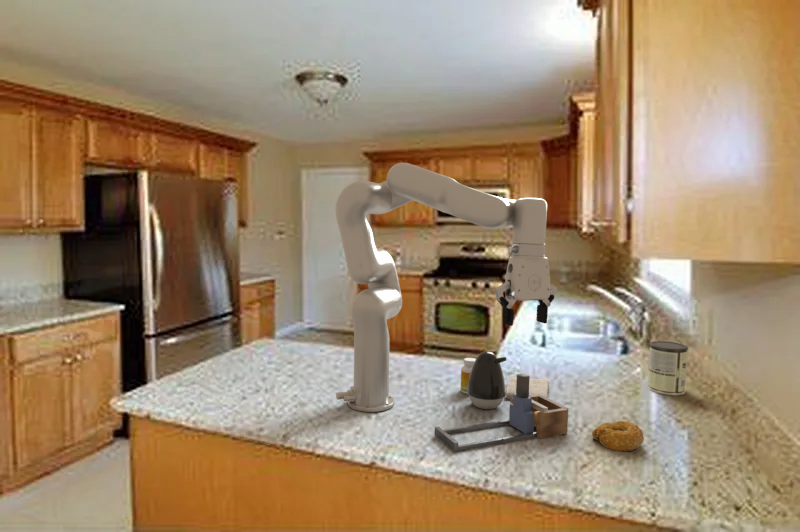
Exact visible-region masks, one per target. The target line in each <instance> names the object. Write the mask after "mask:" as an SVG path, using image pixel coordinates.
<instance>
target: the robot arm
mask: <svg viewBox="0 0 800 532" xmlns="http://www.w3.org/2000/svg"><path fill="white" fill-rule="evenodd" d="M413 201H414V202H415V203H419V204H422V205H424V206H427V207H430V208H432V209H435V210H437V211H440V212H442V213H445V214H448V215H450V216H453V217H455V218H458V219H461V220H463V221H466V222H468V223H471V224H474V225H475V226H479V227H482V228H485V229H490V230H494V229H495V230H501V229H502V230H503V229H509V228H510V229H511V228H512V243H511V246H508V249H507V251H508V252H509V253H511V256H510V257H509V259H508V262H507V267H506V273H505V279H504V280H505V281H504V283H502V284H499V286H497V287H496V288H494V289H493V292H494V294H495V297H496V300H497V302H498V303H499V304H500V306H501V307H502V323H503V324H504V325H507V326H511V327H513V326H514V312H515V309H514V308H513V307H514V305H515V303H516V302H517V301H522V302H524V301H529V302H530V301H537V302H538V304H537V306H536V319H535V320H536V321H537V322H539V323H542V324H547V323H548V316H549V314H548V313H549V307H550V306H551V303H553V301H554V299H555V296H556V294H557V292H558V287H557V286H555V285H554V284H553V283H551V273H550V263H549V260H548V257H546V237H547V233H546V232H547V215H548V213H547V212H548V203H547V201H546V200H545V199H543V198H539V197H538V198H537V197H523V198H518V199H510V198H503V197H501V196H496V195H493V194H490V193H486V192H484V191H481V190H478V189H475V188H472V187H469V186H467V185H464V184H462V183H460V182H458V181H457V180H455V179H454V178H452V177H451V176H447V175H443V174H441V173H439V172H434V171H432V170H429V169H426V168H423V167H421V166H419V165H414V164H412V163H409V162H398V163H395V164H394V165H393V166H392V167H391V168H389V170H388V171H387V175H386V180H384V181H382V182H380V183H378V182H373V181H368V180H358V181H353V182H351V183H349V184H348V185H346V186H345V187H344V188H343V189H342V191H341V192H340V194H339V195H338V197H337V200H336V204H335V218H336V221H337V225H338V229H339V233H340V238H341V243H342V248H343V253H344V257H345V263H346V267H347V270H348V271H347V272H348V275H349V277H350V279H351V280H352V281H353V282H355V284H358V285H367V287H368V288H366V289H364V290H362V291H360V292H359V293H358V294H356V296H355V297H354V298H353V301H352V304H351V311H350V313H351V317H352V318H351V319H352V324H353V349H354V351H353V355H354V356H353V385H351V386H350V387H349V388H350V389H347V391H337V392H335V398H336V400H339V401H340V400H343V402H347V406H348V407H349V408H351V409H352V410H355V411H359V412H367V413H373V412H374V413H375V412H384V411H386V410H389V409H391V408H392V407H394V405H395V399H394V397H392V396H391V395H390V394H389V391H390V389H389V387H390V386H389V385H390V333H389V327H388V320H389V319H392V318H394V317H396V316H397V315H398V314H399V313H400V311H401V309H402V307H403V296H402V295H403V294H402V290H401V286H400V281H399V275H398V272H397V271H398V270H397V268H396V263H395V261H394V258H393V257H392V255H391V254H390V253H389V252H388V251H387V250H385V249H383V248H382V247H381V248H380V247H377V246H376V242H375V240H374V239H375V238H374V233H373V230H372V227H371V225H370V223H369V221H368V218H367V216H368V214H369V215H383V214H387V213H390V212H391V211H393V210H396V209H398V208H400V207H402V206H405V205H407V204H408V203H411V202H413ZM504 294H505V296H504Z"/></svg>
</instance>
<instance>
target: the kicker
mask: <svg viewBox="0 0 800 532" xmlns="http://www.w3.org/2000/svg"><path fill="white" fill-rule="evenodd" d="M516 377H517V382H516V394H513V403H512V404H511V403H509V411H508V413H509V415H508V416H509V417H508V419H509V424H510V425H511V426H512V427H514V428H515V429H517V430H519V431H520V432H522V434H526V433H531V432H535V431H534V430H535V427H534V412H532V411H530V410H531V403H532V398H531V397H529V380H530V378H531V377H530V375H529V374H526V373H517V374H516Z"/></svg>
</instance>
